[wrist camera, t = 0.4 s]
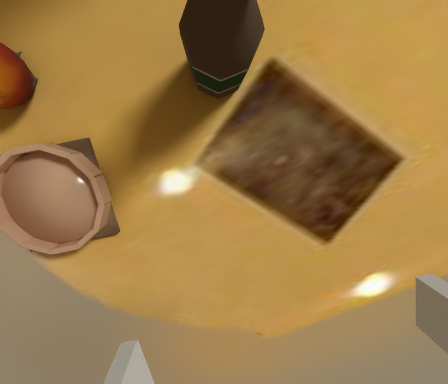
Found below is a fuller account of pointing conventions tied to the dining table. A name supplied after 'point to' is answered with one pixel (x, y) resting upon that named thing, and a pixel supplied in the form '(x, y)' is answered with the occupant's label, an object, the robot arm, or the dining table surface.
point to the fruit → (14, 79)
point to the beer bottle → (220, 42)
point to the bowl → (51, 198)
